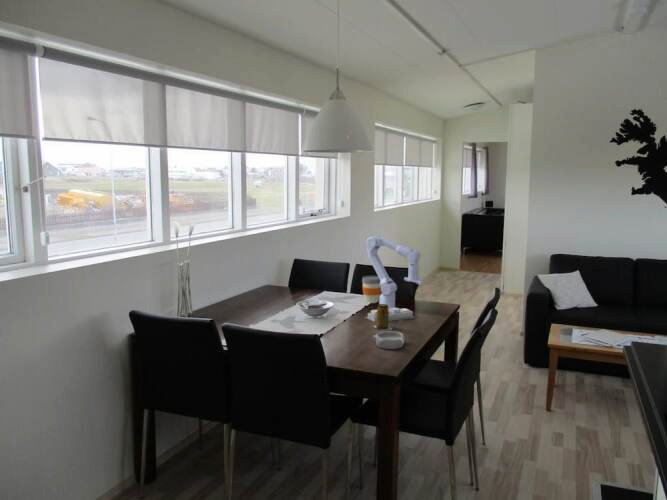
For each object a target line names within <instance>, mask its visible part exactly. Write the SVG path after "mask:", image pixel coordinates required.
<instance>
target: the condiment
mask: <svg viewBox="0 0 667 500" xmlns="http://www.w3.org/2000/svg"><path fill="white" fill-rule="evenodd" d="M376 310H377V323H376V325H372V327H373V328H375V329H378V330H379V331H392V330H393V328H392V327H390V326H389V321H388V320H389V319H388V318H389V311H388V305H387V304H379V303H378V304H377V309H376Z"/></svg>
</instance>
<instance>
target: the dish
mask: <svg viewBox="0 0 667 500" xmlns="http://www.w3.org/2000/svg"><path fill="white" fill-rule="evenodd" d="M372 338H373V341H375V345H376V346H377V347H378V348H381V349H384V350H385V349H386V350H396V349H401V348H402V347H403V346H404V343H405V335H404V333H403V332H399V331H394V330H384V331H380V332H378V333H376V334H375V335H374V334H373V336H372Z"/></svg>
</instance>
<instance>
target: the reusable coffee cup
mask: <svg viewBox="0 0 667 500" xmlns="http://www.w3.org/2000/svg"><path fill="white" fill-rule="evenodd" d="M361 283H362V286H361V287H362V294H363V299H364V302H365V301H366V302H365V303H367V302H371V303H370V304H377V302H378V303H380V295H381V294H382V291H381V286H380V279H379V277H378V275H364V276H362V279H361Z"/></svg>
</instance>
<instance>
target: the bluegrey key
mask: <svg viewBox="0 0 667 500" xmlns="http://www.w3.org/2000/svg"><path fill="white" fill-rule="evenodd" d="M401 309H402V308H399V307H395V308H390V312H391V313H393V314H394V313H400V312H401Z"/></svg>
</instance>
